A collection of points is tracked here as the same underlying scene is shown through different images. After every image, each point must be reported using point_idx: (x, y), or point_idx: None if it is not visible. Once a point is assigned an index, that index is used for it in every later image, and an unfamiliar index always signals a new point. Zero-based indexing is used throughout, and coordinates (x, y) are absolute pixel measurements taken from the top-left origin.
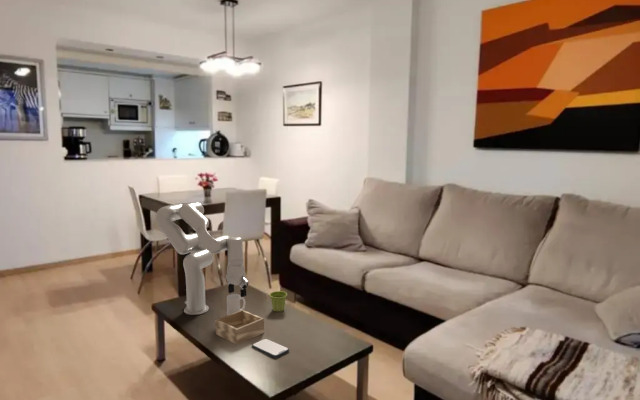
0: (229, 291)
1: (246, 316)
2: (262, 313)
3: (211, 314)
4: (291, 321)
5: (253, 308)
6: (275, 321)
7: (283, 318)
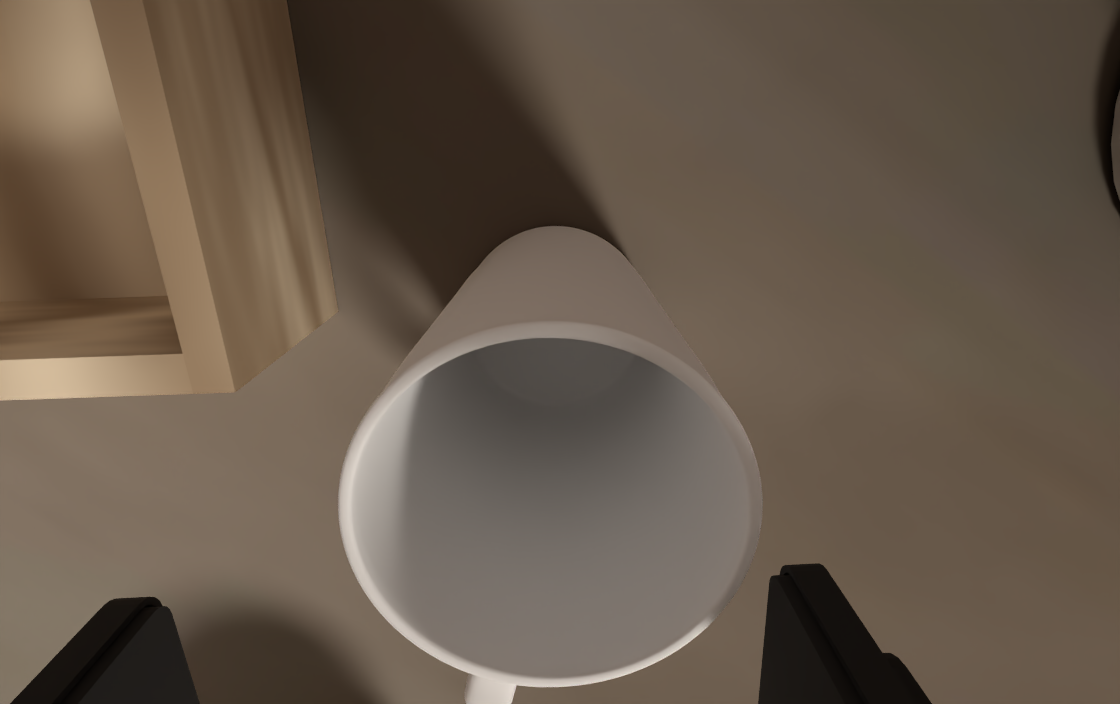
0: (799, 611)
1: (97, 333)
2: None
3: (960, 172)
4: None
5: None
6: None
7: None
